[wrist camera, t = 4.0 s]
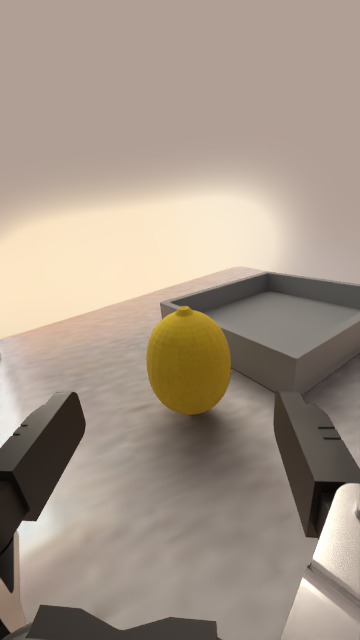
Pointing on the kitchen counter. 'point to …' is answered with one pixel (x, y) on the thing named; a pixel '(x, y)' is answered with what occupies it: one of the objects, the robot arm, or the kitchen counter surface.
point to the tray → (282, 326)
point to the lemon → (188, 361)
